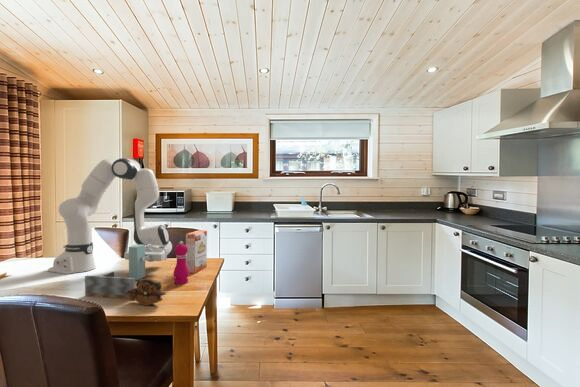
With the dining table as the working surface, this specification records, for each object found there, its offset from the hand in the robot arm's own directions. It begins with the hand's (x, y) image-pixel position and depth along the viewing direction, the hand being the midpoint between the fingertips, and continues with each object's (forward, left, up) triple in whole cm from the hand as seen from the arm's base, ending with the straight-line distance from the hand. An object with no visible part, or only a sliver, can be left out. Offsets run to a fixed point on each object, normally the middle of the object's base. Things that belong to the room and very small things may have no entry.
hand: (136, 259), depth 162 cm
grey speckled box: (+4, -16, -10) cm, 19 cm away
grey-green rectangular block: (0, +1, -9) cm, 10 cm away
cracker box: (+22, +21, -10) cm, 32 cm away
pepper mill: (+24, -1, -10) cm, 26 cm away
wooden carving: (+23, -29, -10) cm, 39 cm away
